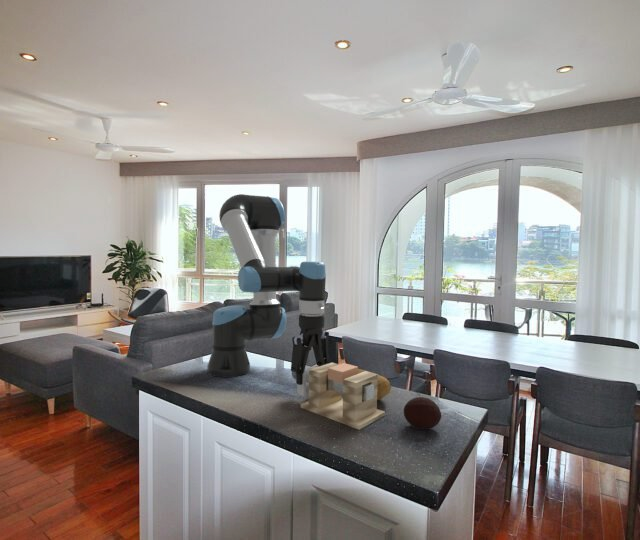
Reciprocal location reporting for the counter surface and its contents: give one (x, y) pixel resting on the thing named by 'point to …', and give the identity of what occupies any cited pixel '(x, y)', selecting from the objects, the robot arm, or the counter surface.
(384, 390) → the potato
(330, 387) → the shaft
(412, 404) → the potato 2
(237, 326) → the robot arm
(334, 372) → the spacer
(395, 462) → the counter surface
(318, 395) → the bearing stand
